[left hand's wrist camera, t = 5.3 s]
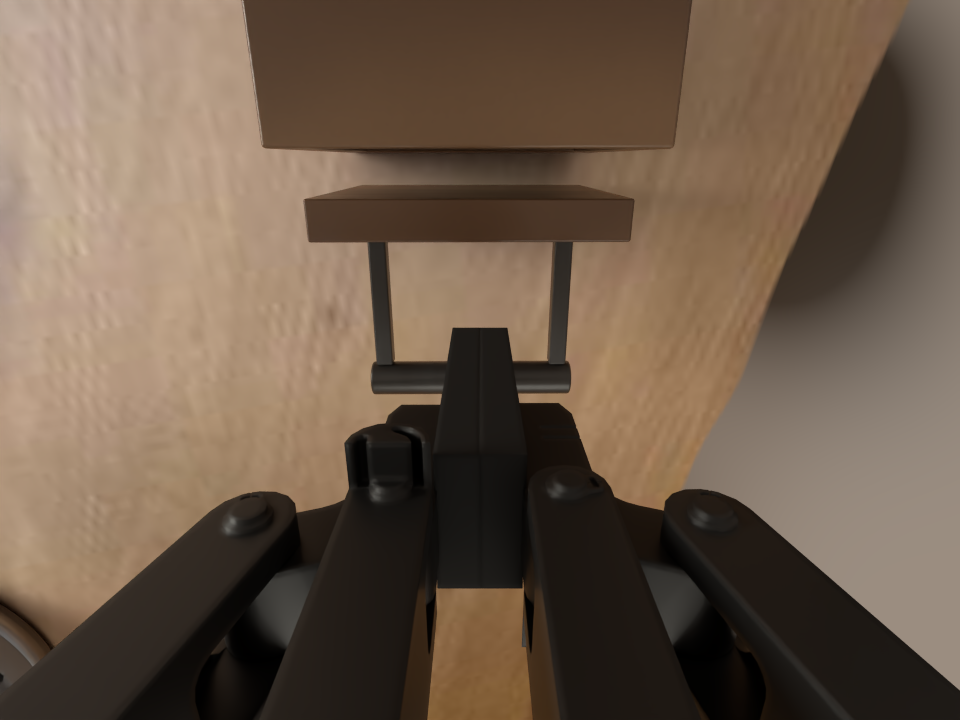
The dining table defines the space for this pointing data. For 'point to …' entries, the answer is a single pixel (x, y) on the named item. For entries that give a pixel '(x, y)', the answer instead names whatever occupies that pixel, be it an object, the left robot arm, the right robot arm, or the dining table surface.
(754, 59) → the dining table surface
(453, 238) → the drawer
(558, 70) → the cabinet
